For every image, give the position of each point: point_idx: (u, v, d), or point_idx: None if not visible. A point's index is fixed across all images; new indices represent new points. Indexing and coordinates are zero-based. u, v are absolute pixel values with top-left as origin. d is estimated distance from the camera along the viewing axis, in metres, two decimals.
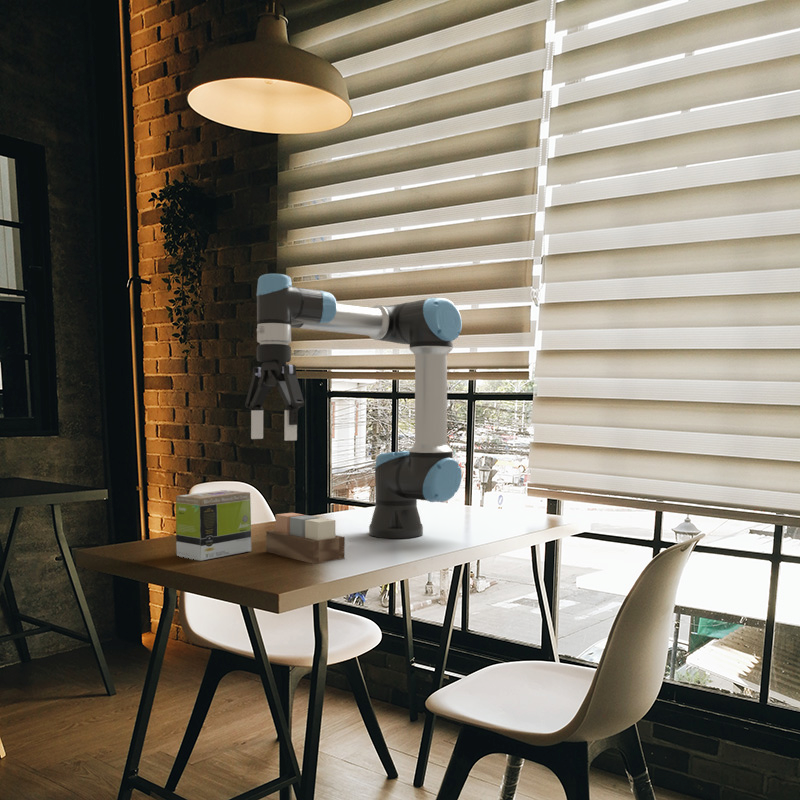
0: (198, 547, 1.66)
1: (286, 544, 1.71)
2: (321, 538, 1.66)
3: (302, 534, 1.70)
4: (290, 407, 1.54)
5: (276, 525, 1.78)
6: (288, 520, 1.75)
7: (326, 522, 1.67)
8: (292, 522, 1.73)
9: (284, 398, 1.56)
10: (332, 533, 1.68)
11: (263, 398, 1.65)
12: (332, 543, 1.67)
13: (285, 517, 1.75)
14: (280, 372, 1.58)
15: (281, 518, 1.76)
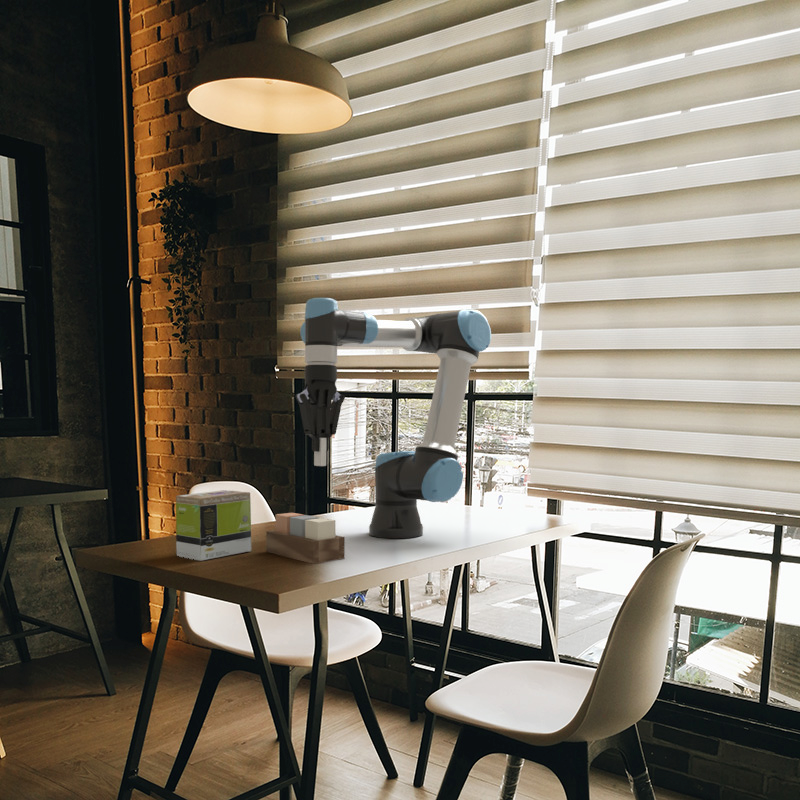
0: (198, 547, 1.66)
1: (286, 544, 1.71)
2: (321, 538, 1.66)
3: (302, 534, 1.70)
4: (311, 436, 1.69)
5: (276, 525, 1.78)
6: (288, 520, 1.75)
7: (326, 522, 1.67)
8: (292, 522, 1.73)
9: None
10: (332, 533, 1.68)
11: (324, 421, 1.69)
12: (332, 543, 1.67)
13: (285, 517, 1.75)
14: None
15: (281, 518, 1.76)
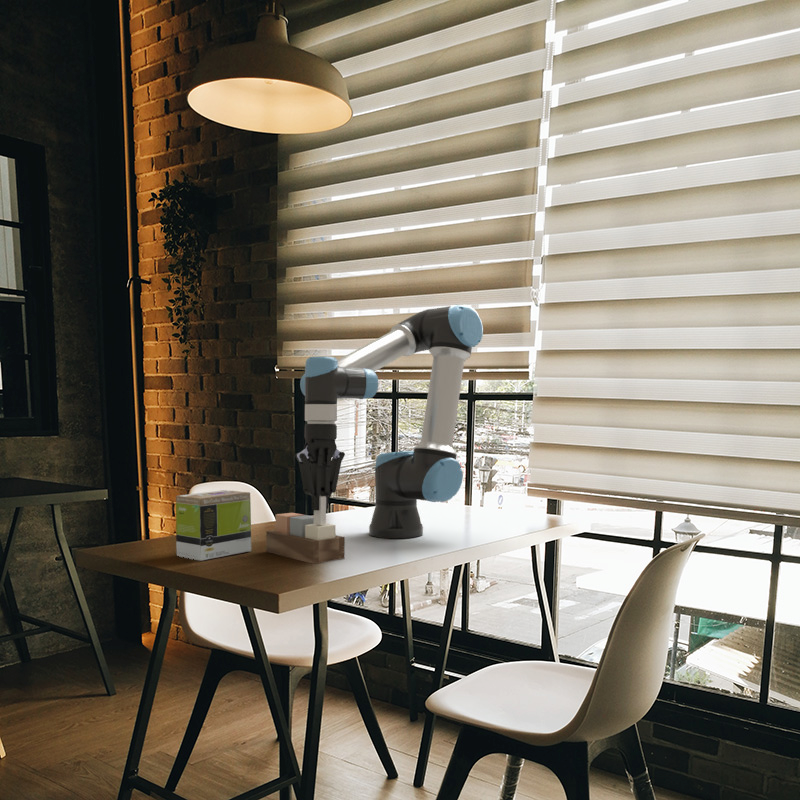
0: (198, 547, 1.66)
1: (286, 544, 1.71)
2: None
3: (302, 534, 1.70)
4: (311, 495, 1.69)
5: (276, 525, 1.78)
6: (288, 520, 1.75)
7: (326, 527, 1.67)
8: (292, 522, 1.73)
9: None
10: None
11: (324, 479, 1.69)
12: (332, 543, 1.67)
13: (285, 517, 1.75)
14: None
15: (281, 518, 1.76)
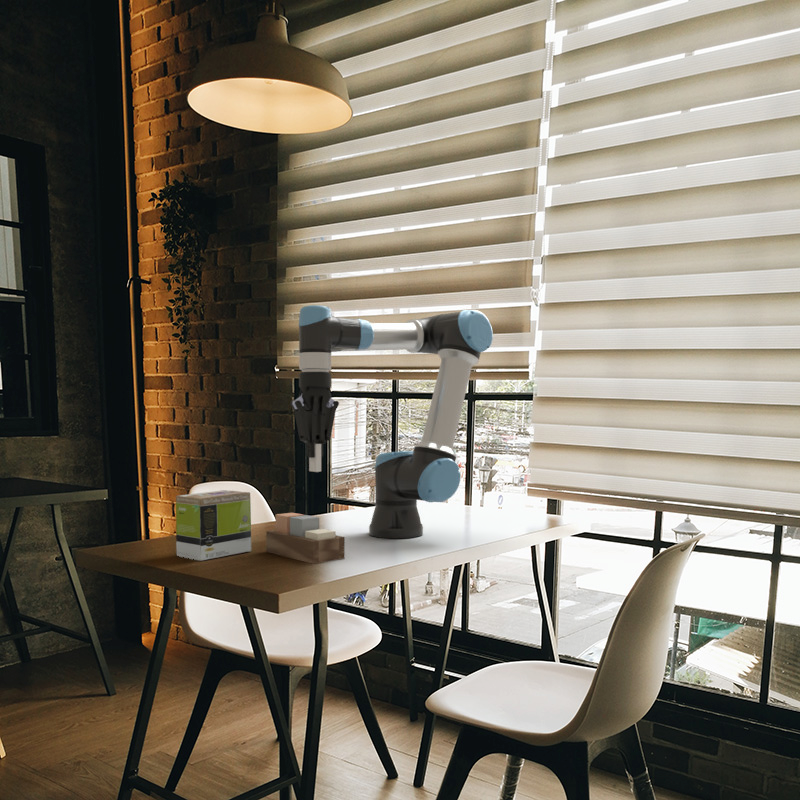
0: (198, 547, 1.66)
1: (286, 544, 1.71)
2: None
3: (302, 534, 1.70)
4: (306, 442, 1.71)
5: (276, 525, 1.78)
6: (288, 520, 1.75)
7: (326, 533, 1.67)
8: (292, 522, 1.73)
9: None
10: None
11: (319, 427, 1.71)
12: (332, 543, 1.67)
13: (285, 517, 1.75)
14: None
15: (281, 518, 1.76)
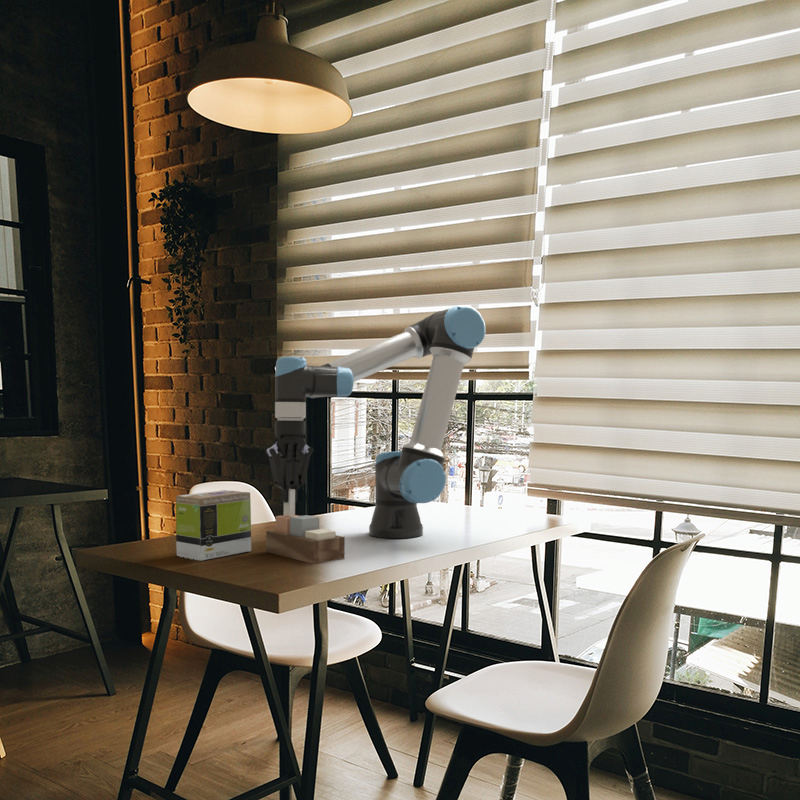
0: (198, 547, 1.66)
1: (286, 544, 1.71)
2: None
3: (302, 534, 1.70)
4: (281, 488, 1.78)
5: (276, 527, 1.78)
6: (288, 522, 1.75)
7: (326, 533, 1.67)
8: (292, 522, 1.73)
9: None
10: None
11: (293, 473, 1.78)
12: (332, 543, 1.67)
13: (285, 519, 1.75)
14: None
15: (281, 520, 1.76)
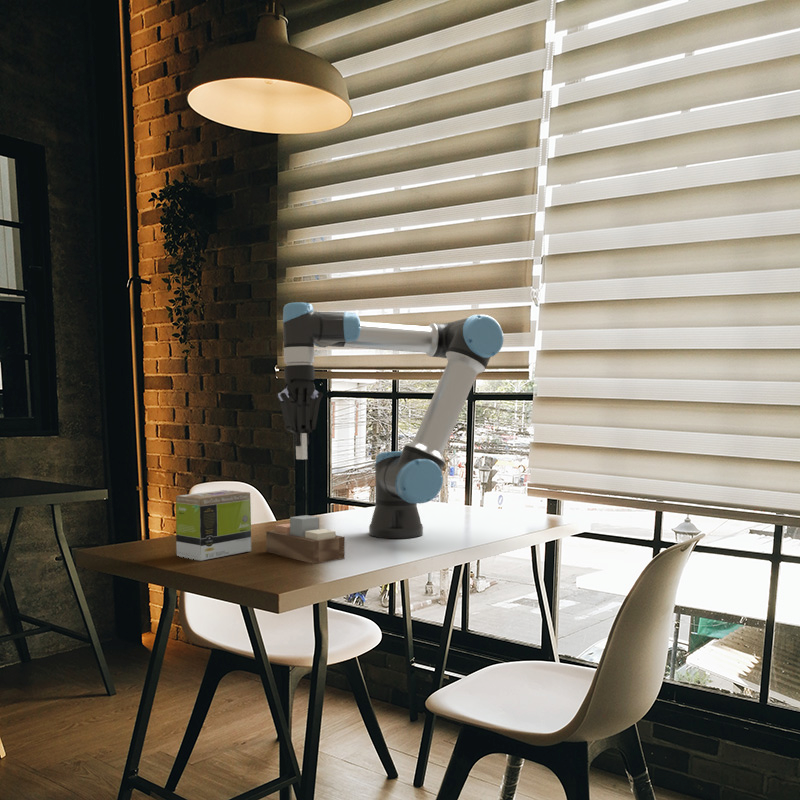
0: (198, 547, 1.66)
1: (286, 544, 1.71)
2: None
3: (302, 534, 1.70)
4: None
5: None
6: (288, 531, 1.75)
7: (326, 533, 1.67)
8: (292, 522, 1.73)
9: None
10: None
11: (304, 417, 1.81)
12: (332, 543, 1.67)
13: (285, 528, 1.75)
14: None
15: (281, 529, 1.76)
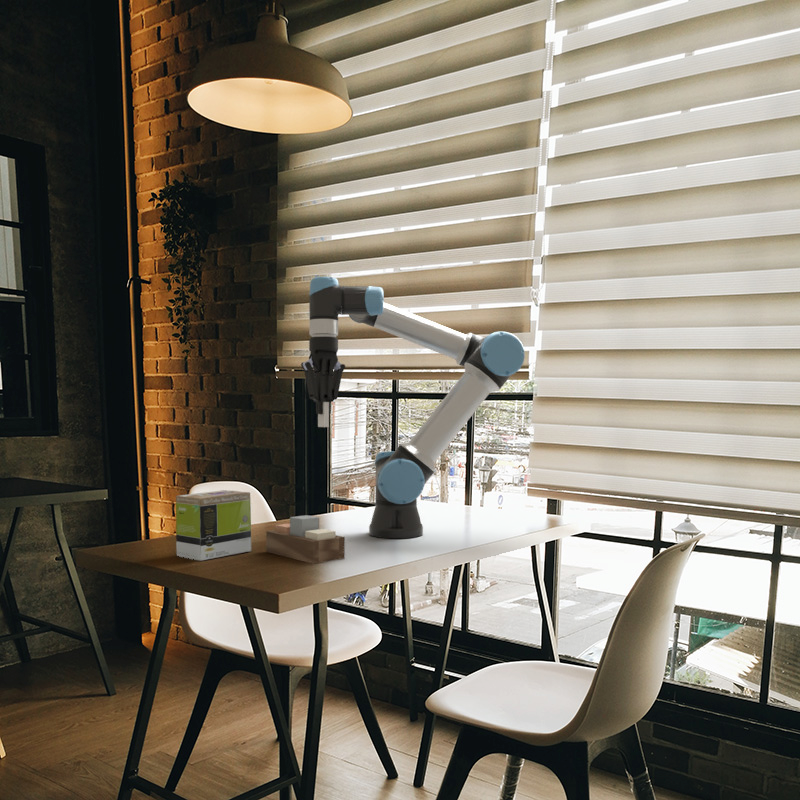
0: (198, 547, 1.66)
1: (286, 544, 1.71)
2: None
3: (302, 534, 1.70)
4: (315, 401, 1.89)
5: None
6: (288, 531, 1.75)
7: (326, 533, 1.67)
8: (292, 522, 1.73)
9: None
10: None
11: (327, 387, 1.90)
12: (332, 543, 1.67)
13: (285, 528, 1.75)
14: None
15: (281, 529, 1.76)
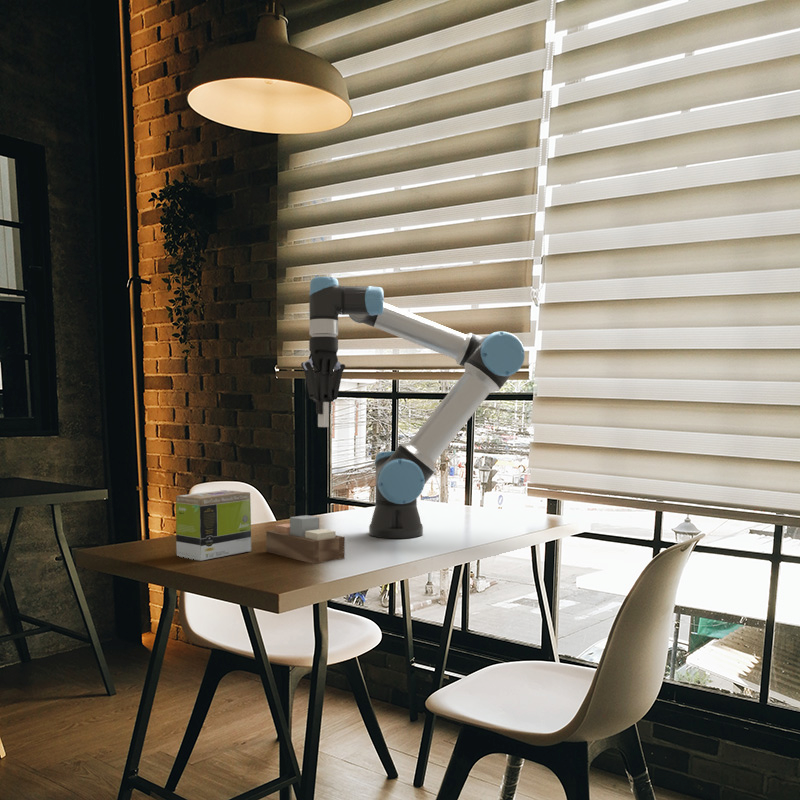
0: (198, 547, 1.66)
1: (286, 544, 1.71)
2: None
3: (302, 534, 1.70)
4: (315, 401, 1.89)
5: None
6: (288, 531, 1.75)
7: (326, 533, 1.67)
8: (292, 522, 1.73)
9: None
10: None
11: (327, 387, 1.90)
12: (332, 543, 1.67)
13: (285, 528, 1.75)
14: None
15: (281, 529, 1.76)
